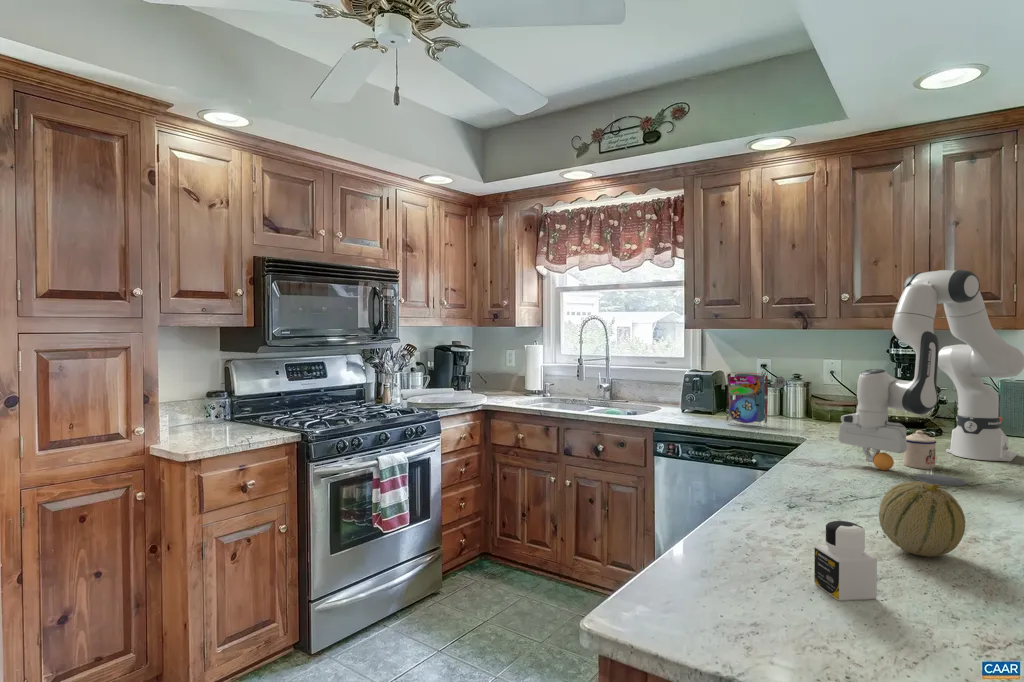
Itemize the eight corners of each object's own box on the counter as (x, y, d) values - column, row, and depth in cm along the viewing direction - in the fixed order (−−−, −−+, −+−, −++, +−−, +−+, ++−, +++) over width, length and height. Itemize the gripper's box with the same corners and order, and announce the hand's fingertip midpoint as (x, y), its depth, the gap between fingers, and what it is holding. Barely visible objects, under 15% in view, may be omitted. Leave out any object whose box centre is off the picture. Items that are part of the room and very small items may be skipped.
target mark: (925, 472, 188) (925, 472, 188) (974, 481, 177) (974, 481, 177) (904, 478, 181) (904, 478, 181) (954, 488, 170) (954, 487, 170)
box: (786, 428, 267) (787, 374, 266) (782, 430, 262) (782, 375, 262) (730, 423, 283) (730, 371, 282) (725, 425, 278) (725, 372, 278)
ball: (874, 456, 197) (888, 447, 193) (886, 471, 194) (900, 462, 191) (866, 460, 194) (880, 451, 190) (878, 474, 191) (892, 466, 187)
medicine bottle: (813, 583, 109) (813, 518, 109) (850, 581, 110) (851, 516, 110) (837, 601, 102) (838, 531, 102) (877, 599, 103) (878, 530, 103)
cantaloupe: (883, 535, 133) (884, 468, 133) (966, 551, 124) (967, 479, 124) (872, 556, 122) (873, 482, 122) (962, 574, 113) (963, 495, 112)
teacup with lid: (932, 470, 190) (932, 434, 190) (899, 466, 197) (899, 430, 197) (941, 464, 199) (941, 429, 198) (908, 460, 205) (909, 426, 205)
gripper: (911, 423, 188) (910, 467, 188) (846, 414, 205) (845, 454, 206) (901, 424, 185) (900, 469, 185) (836, 415, 202) (835, 456, 202)
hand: (871, 461), depth 195 cm, fingers closed
